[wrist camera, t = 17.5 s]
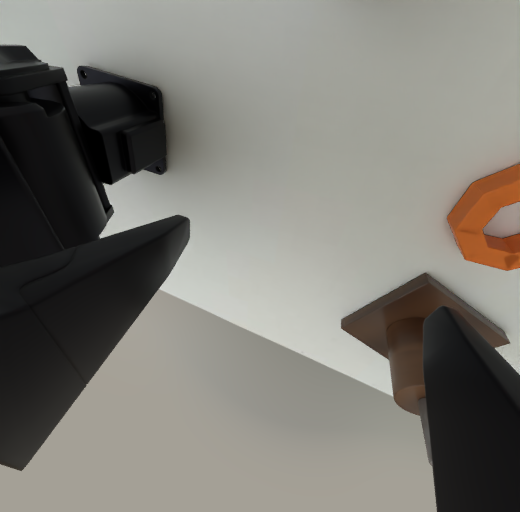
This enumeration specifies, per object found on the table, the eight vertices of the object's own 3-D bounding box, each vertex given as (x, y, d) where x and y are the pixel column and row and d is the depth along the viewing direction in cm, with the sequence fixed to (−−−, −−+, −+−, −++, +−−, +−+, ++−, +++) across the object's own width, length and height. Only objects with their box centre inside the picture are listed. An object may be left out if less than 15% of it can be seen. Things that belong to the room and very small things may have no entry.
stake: (341, 319, 28) (336, 439, 19) (425, 272, 21) (474, 422, 13) (407, 363, 29) (429, 492, 21) (504, 331, 23) (596, 501, 14)
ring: (430, 238, 19) (436, 252, 18) (494, 151, 15) (508, 161, 14) (524, 262, 18) (537, 279, 17) (620, 177, 14) (648, 190, 13)
